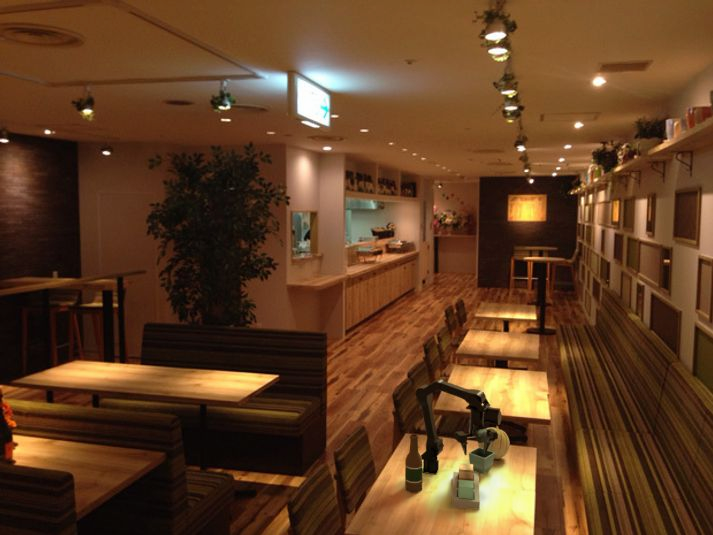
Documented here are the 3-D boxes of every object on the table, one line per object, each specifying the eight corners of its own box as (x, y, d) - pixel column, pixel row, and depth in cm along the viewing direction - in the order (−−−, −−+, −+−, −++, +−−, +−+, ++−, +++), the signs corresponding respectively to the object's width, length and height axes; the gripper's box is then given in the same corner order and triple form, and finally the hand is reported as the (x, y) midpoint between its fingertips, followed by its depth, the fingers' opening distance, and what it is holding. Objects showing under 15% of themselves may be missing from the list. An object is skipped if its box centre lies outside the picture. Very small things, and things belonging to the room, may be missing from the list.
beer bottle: (425, 486, 273) (425, 433, 270) (419, 494, 266) (419, 440, 263) (408, 483, 276) (408, 430, 273) (401, 491, 269) (402, 437, 266)
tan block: (458, 488, 264) (458, 477, 264) (458, 482, 270) (458, 471, 269) (473, 490, 263) (473, 478, 262) (473, 483, 269) (473, 472, 268)
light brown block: (458, 480, 272) (459, 469, 271) (458, 474, 278) (459, 463, 277) (472, 481, 271) (473, 470, 270) (472, 475, 277) (473, 464, 276)
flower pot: (494, 471, 287) (495, 452, 286) (484, 477, 281) (485, 458, 280) (478, 465, 293) (478, 447, 292) (467, 471, 287) (468, 452, 286)
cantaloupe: (474, 461, 298) (475, 430, 296) (481, 449, 311) (481, 420, 310) (506, 466, 292) (507, 435, 290) (511, 454, 306) (512, 424, 304)
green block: (458, 498, 256) (458, 486, 256) (458, 491, 262) (458, 479, 262) (473, 499, 255) (473, 487, 255) (473, 492, 261) (473, 480, 261)
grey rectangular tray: (451, 507, 255) (452, 500, 255) (453, 478, 281) (453, 471, 280) (479, 509, 253) (479, 502, 253) (478, 480, 279) (478, 473, 278)
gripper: (464, 428, 264) (463, 464, 266) (505, 425, 269) (503, 459, 271) (453, 419, 275) (452, 453, 277) (493, 415, 279) (491, 449, 282)
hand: (475, 454), depth 276 cm, fingers open, 9 cm apart
